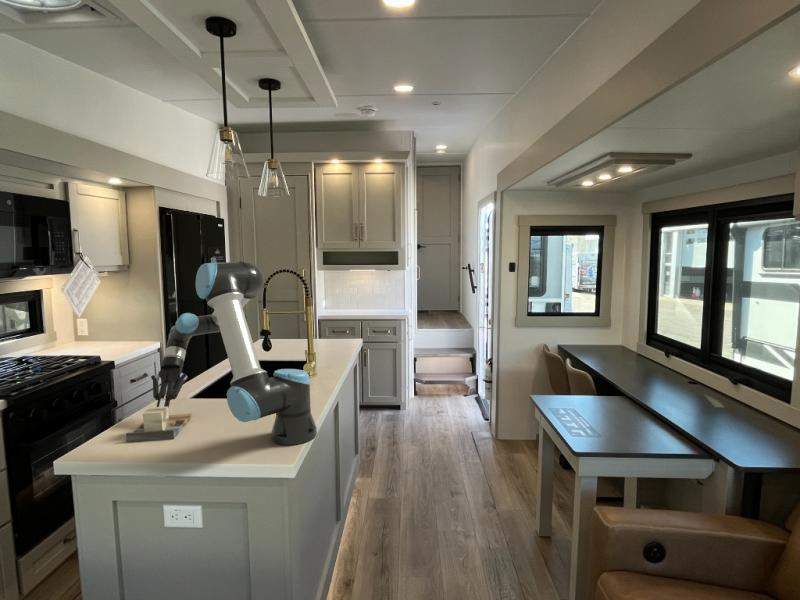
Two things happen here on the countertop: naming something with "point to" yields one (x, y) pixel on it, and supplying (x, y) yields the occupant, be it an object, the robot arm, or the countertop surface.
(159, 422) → the ash block
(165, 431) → the trap board
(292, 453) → the countertop surface
